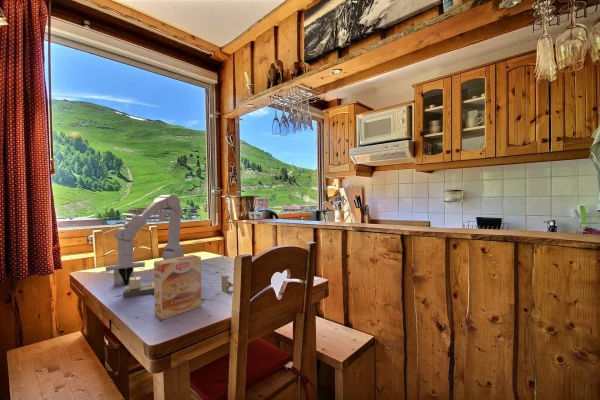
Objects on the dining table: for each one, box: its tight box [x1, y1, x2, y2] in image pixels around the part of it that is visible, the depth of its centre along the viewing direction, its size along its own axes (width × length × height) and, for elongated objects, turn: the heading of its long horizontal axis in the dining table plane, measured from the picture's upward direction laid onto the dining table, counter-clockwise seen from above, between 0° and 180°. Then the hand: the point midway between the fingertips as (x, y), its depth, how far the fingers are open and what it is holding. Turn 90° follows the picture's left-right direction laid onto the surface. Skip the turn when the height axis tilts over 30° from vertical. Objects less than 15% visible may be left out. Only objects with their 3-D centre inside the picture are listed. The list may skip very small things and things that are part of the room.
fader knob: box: [129, 276, 141, 290], centre depth 121 cm, size 4×5×4 cm
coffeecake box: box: [153, 254, 202, 320], centre depth 101 cm, size 15×7×20 cm, turn 139°
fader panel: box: [122, 281, 154, 298], centre depth 123 cm, size 15×10×2 cm, turn 120°
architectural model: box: [221, 275, 234, 294], centre depth 121 cm, size 3×7×7 cm, turn 41°
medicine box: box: [113, 268, 135, 285], centre depth 137 cm, size 8×4×9 cm, turn 168°
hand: (126, 285), depth 120 cm, fingers closed
